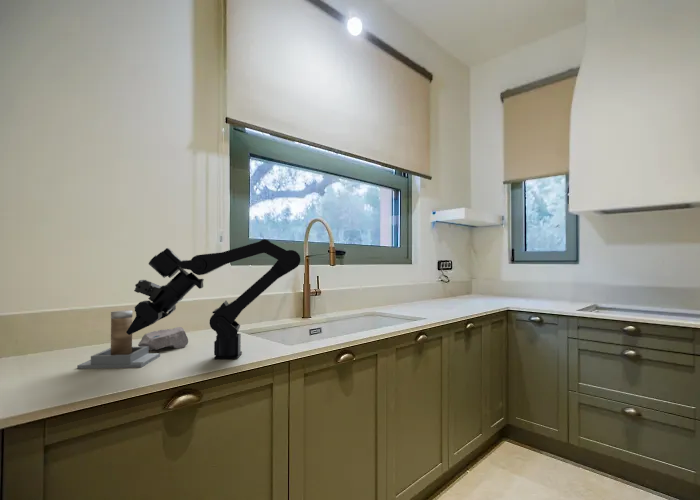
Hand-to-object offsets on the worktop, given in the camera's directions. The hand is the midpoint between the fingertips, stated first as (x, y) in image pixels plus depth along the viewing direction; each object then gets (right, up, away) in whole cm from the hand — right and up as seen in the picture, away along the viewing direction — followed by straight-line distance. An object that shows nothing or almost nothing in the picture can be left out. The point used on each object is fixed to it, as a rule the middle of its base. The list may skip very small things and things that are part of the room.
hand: (134, 330), depth 103 cm
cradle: (-3, -9, -1) cm, 9 cm away
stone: (+1, -9, +15) cm, 17 cm away
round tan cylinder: (-3, -8, -1) cm, 8 cm away
